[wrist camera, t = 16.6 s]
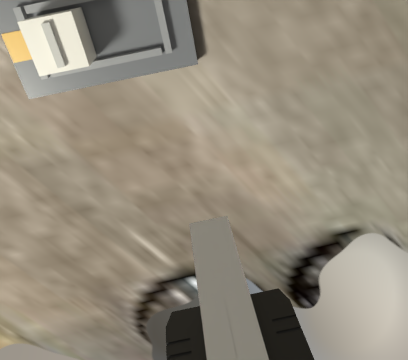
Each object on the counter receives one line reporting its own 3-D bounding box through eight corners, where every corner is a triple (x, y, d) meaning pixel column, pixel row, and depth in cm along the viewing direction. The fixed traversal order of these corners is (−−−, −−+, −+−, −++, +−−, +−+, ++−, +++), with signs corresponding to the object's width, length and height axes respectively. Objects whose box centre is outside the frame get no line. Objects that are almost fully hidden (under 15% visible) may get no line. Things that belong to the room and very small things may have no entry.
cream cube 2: (33, 16, 29) (15, 22, 26) (81, 6, 29) (69, 11, 26) (52, 65, 31) (38, 77, 28) (96, 56, 31) (88, 67, 28)
